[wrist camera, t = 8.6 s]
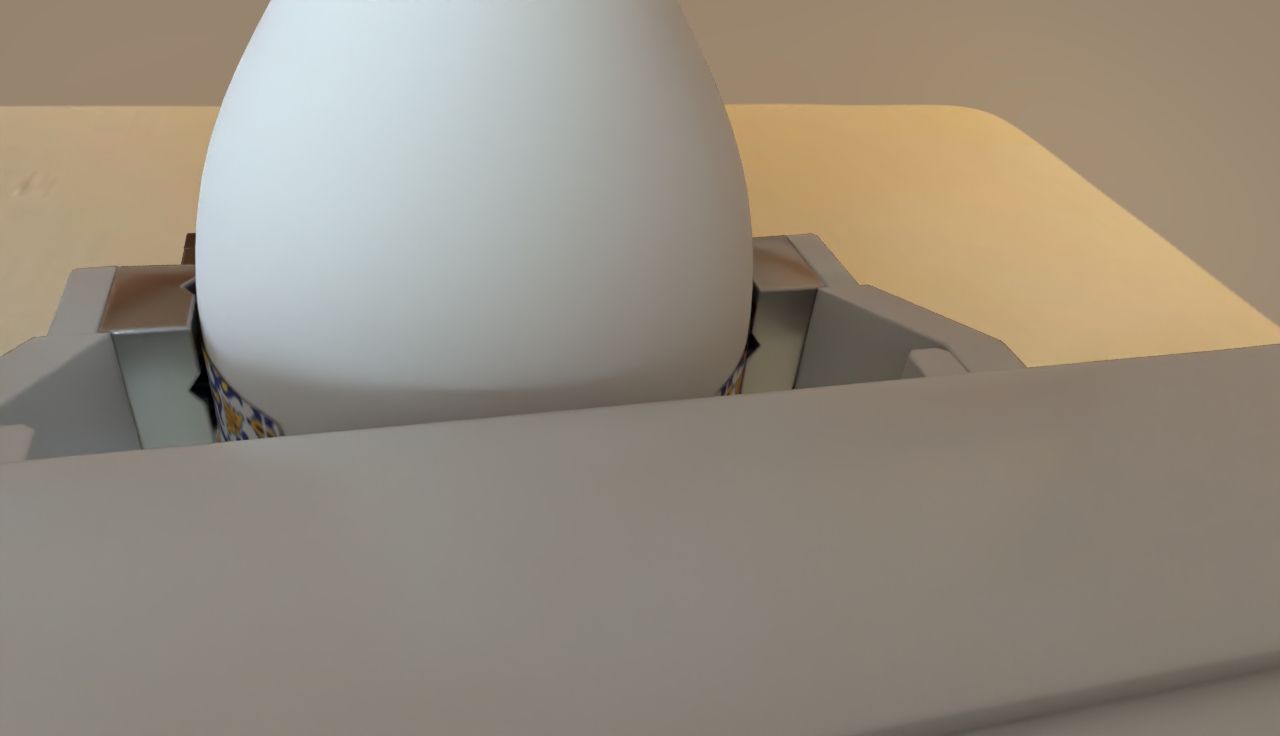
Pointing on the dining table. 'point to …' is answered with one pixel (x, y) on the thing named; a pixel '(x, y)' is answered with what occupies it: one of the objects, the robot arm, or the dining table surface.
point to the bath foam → (469, 216)
